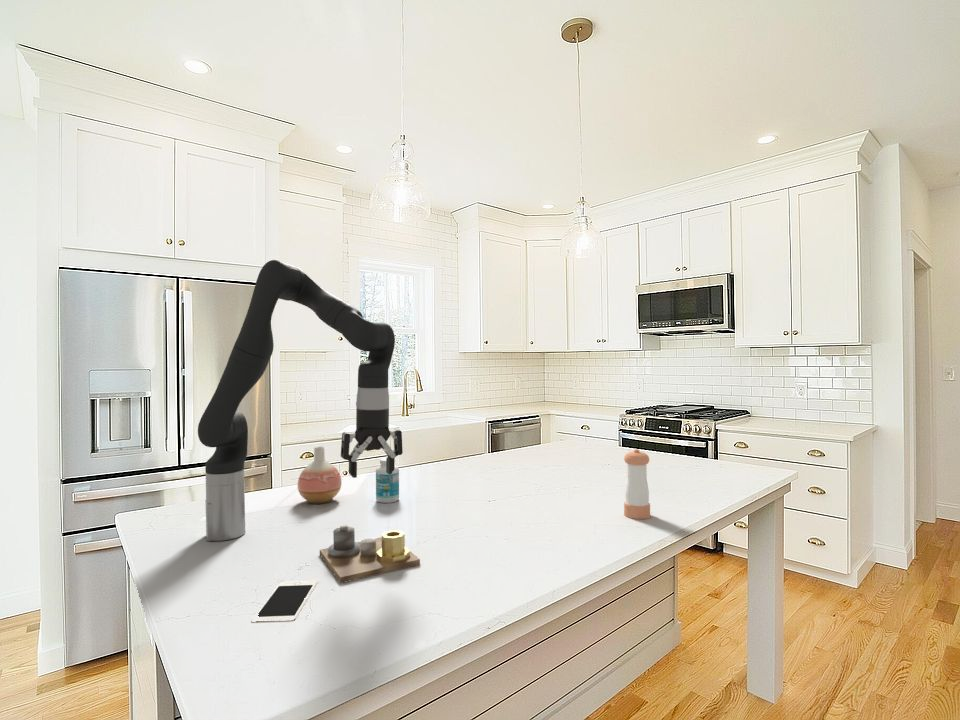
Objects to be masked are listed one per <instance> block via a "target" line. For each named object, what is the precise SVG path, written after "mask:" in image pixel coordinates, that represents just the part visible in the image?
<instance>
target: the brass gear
mask: <svg viewBox="0 0 960 720" xmlns="http://www.w3.org/2000/svg"><path fill="white" fill-rule="evenodd" d="M381 538H382V548H381V549H380V550H379V551H378V552H377V559H378V560H379V561H380V562H385V563H396V562H401V561H405V560H406V559H407V558H408V557H409V556H410V551H411V550H410V549H409V548H408V547H407V546H405V545H406V543H405V542H406V538H405V532H404V531H402V530H394V529H393V530H389V531H384V532H383V533H382V534H381Z"/></svg>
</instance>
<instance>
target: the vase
mask: <svg viewBox="0 0 960 720" xmlns="http://www.w3.org/2000/svg"><path fill="white" fill-rule="evenodd" d="M313 450H314V451H313V461H312V462H311V463H309V464H308V465H306V467H305V468H304V469H303V470H302V471H301V472H300V474H299V476H298V480H297V491H298V493H299V495H300V496H301V497H302V499H304V500H306V501H307V502H308V503H309V504H313V505H318V504H319V505H321V504H326V503H329V502H331V501H332V500H333V499H334V498H335V497H336V496H337V495H338V494H339V493H340V491H341V488H342V485H343V484H342V476H341V473H340V472H339V470H338V469H337V468H336V466H334V465H333V464H332V463H330V462H329V461H327V460H326V458H325V447H324V446H315V447H314V448H313Z"/></svg>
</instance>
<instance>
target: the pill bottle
mask: <svg viewBox="0 0 960 720" xmlns="http://www.w3.org/2000/svg"><path fill="white" fill-rule="evenodd" d="M395 461H396V460H395V459H394V471H392V474H388V473H387V472H386V457H382V458H380V459H379V465H378V466H377V467H376V469H375V500H376V501H377V502H378V503H382V504H390V503H395V502H397V501H398V500H399V498H400V469H399V466H398V465H396V464H395Z"/></svg>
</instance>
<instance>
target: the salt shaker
mask: <svg viewBox="0 0 960 720" xmlns="http://www.w3.org/2000/svg"><path fill="white" fill-rule="evenodd" d="M623 460H624V462H625V463H626V483H625V488H624V497H625V498H624V499H625V500H624V503H623V515H624V516H625V517H626V518H630V519H635V520H645V519H646V520H647V519H649V518H650V517H651V504H650V502H649V501H650V498H649V497H650V491H649V490H650V489H649V484H648V477H647V476H648V475H647V474H648V473H647V472H648V471H647V470H648V469H647V467H648V466H647V465H648V464H649V462H650V457H649V455H648V454H647V453H645V452H643V451H640V450H639V449H638V448H635V449H634V450H633V451H629V452H626V454H625V455H624V458H623Z"/></svg>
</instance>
